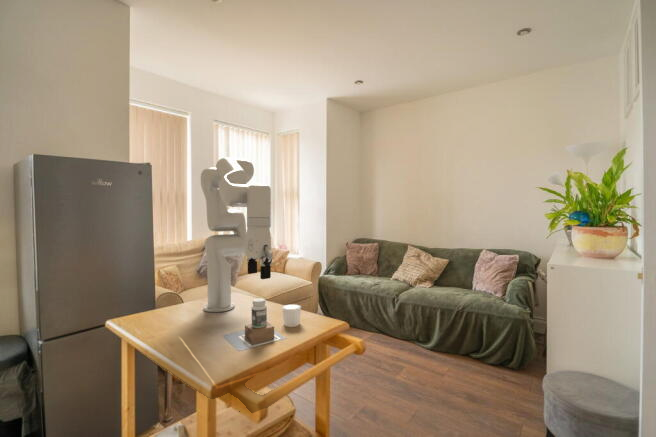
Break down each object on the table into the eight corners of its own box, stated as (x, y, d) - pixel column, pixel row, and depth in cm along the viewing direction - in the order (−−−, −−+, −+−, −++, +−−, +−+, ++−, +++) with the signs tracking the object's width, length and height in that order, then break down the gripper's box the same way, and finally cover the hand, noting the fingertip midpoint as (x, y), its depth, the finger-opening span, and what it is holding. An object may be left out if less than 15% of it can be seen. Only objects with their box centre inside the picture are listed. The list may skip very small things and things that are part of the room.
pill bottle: (251, 323, 104) (251, 298, 104) (266, 322, 106) (266, 297, 105) (251, 328, 100) (251, 302, 100) (267, 327, 101) (267, 301, 101)
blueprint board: (221, 337, 105) (221, 335, 105) (266, 326, 114) (266, 324, 114) (239, 353, 93) (239, 350, 93) (286, 340, 102) (286, 337, 102)
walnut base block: (244, 337, 103) (244, 325, 103) (264, 332, 108) (264, 320, 107) (253, 344, 98) (253, 331, 98) (274, 338, 102) (274, 326, 102)
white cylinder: (300, 329, 112) (300, 309, 112) (280, 329, 112) (280, 309, 112) (301, 322, 119) (301, 303, 119) (283, 322, 119) (283, 303, 119)
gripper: (237, 222, 107) (237, 272, 107) (259, 224, 93) (259, 282, 93) (258, 221, 111) (258, 270, 112) (282, 223, 97) (282, 279, 98)
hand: (258, 275), depth 103 cm, fingers open, 9 cm apart
